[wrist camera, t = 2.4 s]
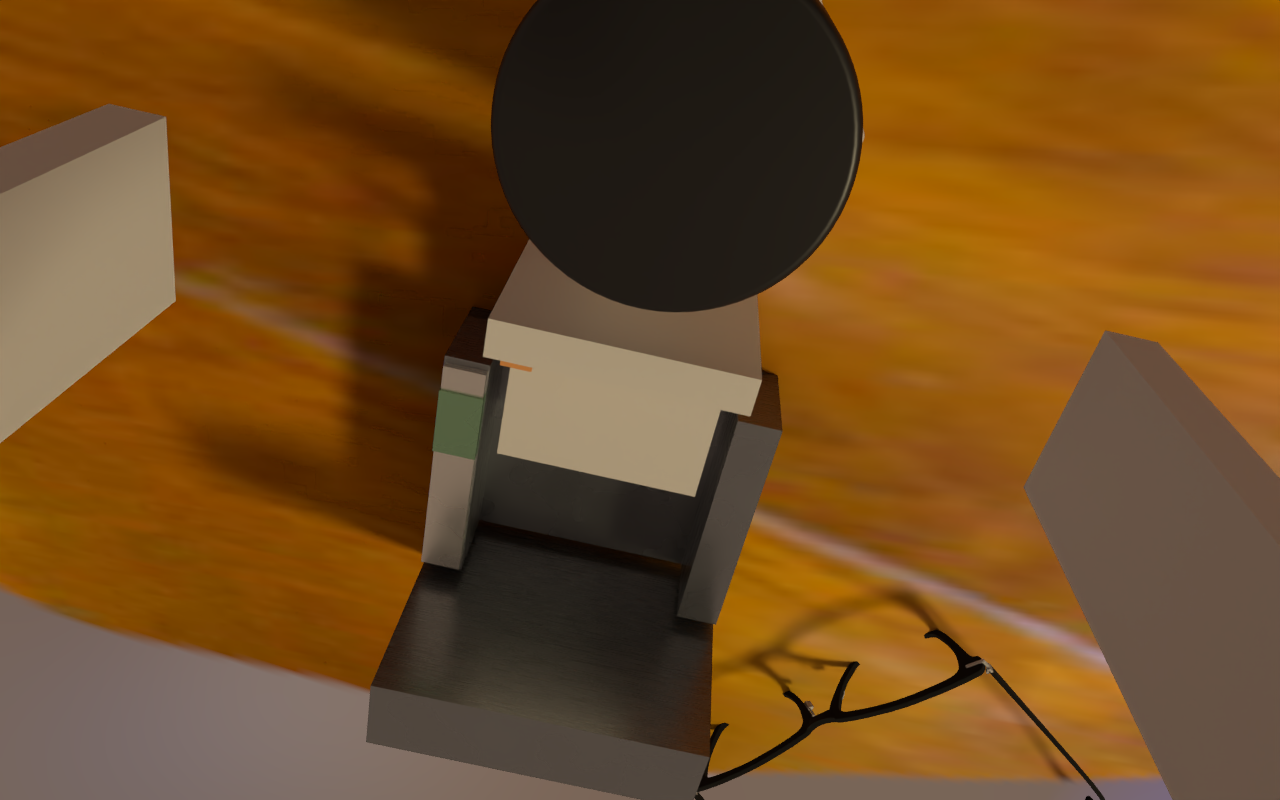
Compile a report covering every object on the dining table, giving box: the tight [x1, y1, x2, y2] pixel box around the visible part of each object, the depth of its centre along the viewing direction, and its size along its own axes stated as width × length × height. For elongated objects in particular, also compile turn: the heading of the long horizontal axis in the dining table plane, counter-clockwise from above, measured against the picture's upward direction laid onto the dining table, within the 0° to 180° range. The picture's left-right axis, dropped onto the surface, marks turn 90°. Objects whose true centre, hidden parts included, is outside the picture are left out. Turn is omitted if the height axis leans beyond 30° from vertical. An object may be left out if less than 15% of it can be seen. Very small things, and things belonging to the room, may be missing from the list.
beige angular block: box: [483, 239, 762, 497], centre depth 31 cm, size 8×8×8 cm
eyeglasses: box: [694, 630, 1105, 800], centre depth 45 cm, size 16×16×4 cm
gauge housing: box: [366, 307, 782, 800], centre depth 35 cm, size 13×12×10 cm
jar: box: [491, 0, 865, 312], centre depth 25 cm, size 9×8×12 cm
